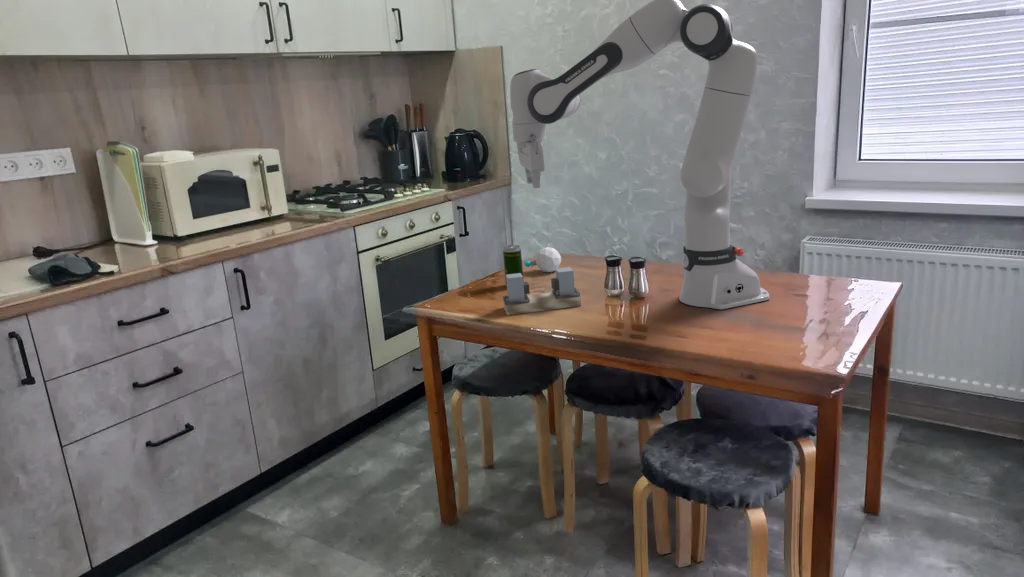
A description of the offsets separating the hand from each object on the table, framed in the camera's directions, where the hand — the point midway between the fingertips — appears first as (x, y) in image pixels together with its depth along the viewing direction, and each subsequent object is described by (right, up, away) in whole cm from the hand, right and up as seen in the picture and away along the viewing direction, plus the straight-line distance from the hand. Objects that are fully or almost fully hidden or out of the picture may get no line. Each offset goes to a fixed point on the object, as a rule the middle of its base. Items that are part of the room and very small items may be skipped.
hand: (533, 185), depth 191 cm
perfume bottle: (+4, -23, +32) cm, 40 cm away
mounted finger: (+9, -30, -2) cm, 31 cm away
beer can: (-5, -27, +20) cm, 34 cm away
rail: (+2, -33, -2) cm, 33 cm away
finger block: (-5, -31, -3) cm, 32 cm away
